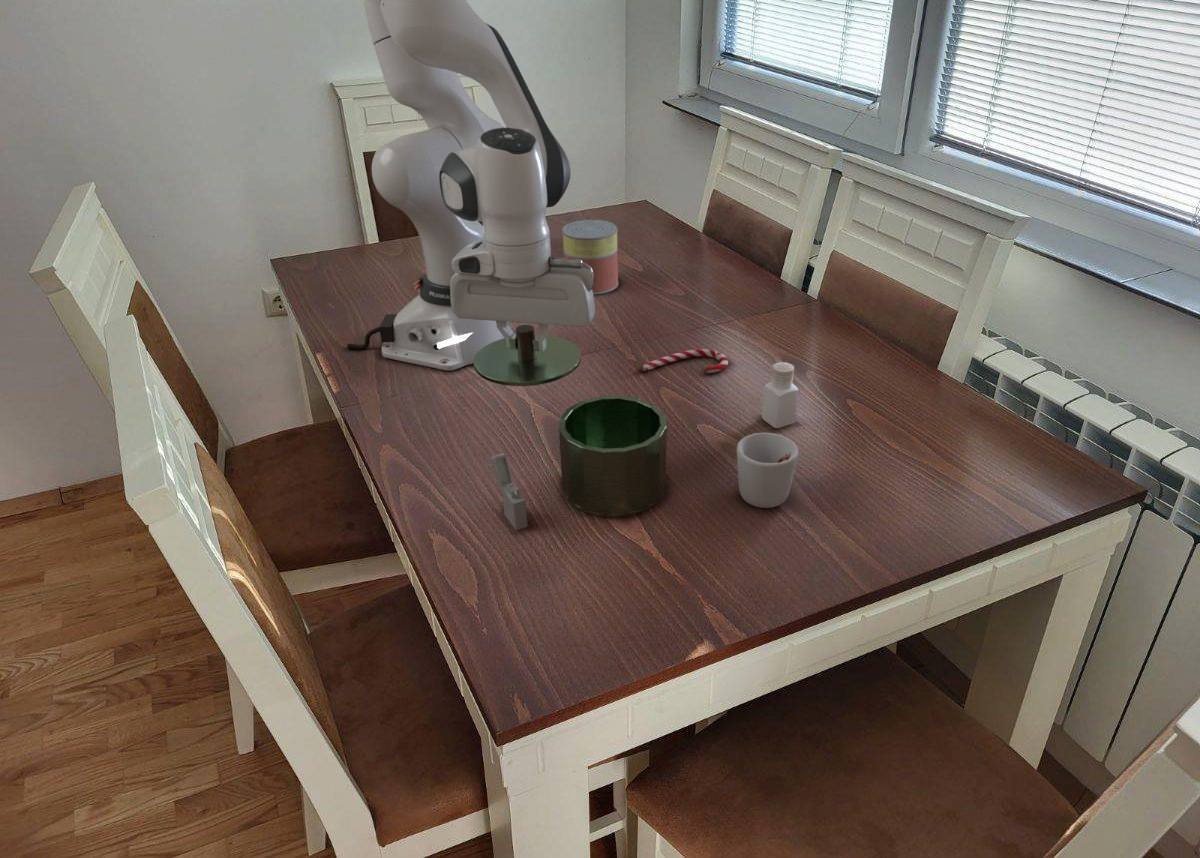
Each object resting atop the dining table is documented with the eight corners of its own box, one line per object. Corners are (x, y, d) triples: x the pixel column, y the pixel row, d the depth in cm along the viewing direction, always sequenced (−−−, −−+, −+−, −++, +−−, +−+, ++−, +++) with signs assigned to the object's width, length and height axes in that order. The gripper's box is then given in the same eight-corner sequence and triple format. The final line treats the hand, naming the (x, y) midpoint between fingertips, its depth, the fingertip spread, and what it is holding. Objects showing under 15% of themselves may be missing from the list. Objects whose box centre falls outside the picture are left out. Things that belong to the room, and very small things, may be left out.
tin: (562, 519, 117) (558, 453, 112) (563, 459, 130) (560, 397, 124) (669, 515, 118) (670, 449, 112) (660, 456, 130) (661, 394, 124)
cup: (724, 471, 126) (726, 423, 122) (779, 467, 127) (783, 419, 122) (740, 517, 117) (744, 466, 113) (800, 512, 117) (805, 462, 113)
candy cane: (636, 356, 154) (717, 344, 157) (636, 363, 155) (717, 351, 158) (649, 376, 148) (734, 364, 151) (649, 383, 148) (733, 371, 151)
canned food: (628, 280, 187) (628, 224, 181) (599, 298, 179) (598, 241, 173) (583, 270, 192) (581, 216, 186) (554, 288, 184) (550, 232, 178)
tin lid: (469, 392, 122) (464, 355, 119) (479, 343, 135) (475, 308, 132) (581, 387, 122) (579, 350, 119) (581, 339, 135) (579, 304, 132)
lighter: (528, 526, 116) (523, 476, 112) (515, 530, 116) (511, 480, 112) (507, 498, 122) (502, 449, 118) (495, 502, 121) (490, 453, 117)
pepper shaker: (775, 430, 135) (780, 375, 130) (759, 418, 138) (764, 364, 133) (796, 423, 136) (802, 369, 131) (780, 412, 139) (785, 358, 134)
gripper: (598, 251, 120) (602, 344, 127) (457, 244, 125) (468, 333, 132) (587, 268, 115) (591, 364, 122) (440, 260, 119) (452, 352, 126)
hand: (526, 348), depth 127 cm, fingers closed on tin lid, 2 cm apart
